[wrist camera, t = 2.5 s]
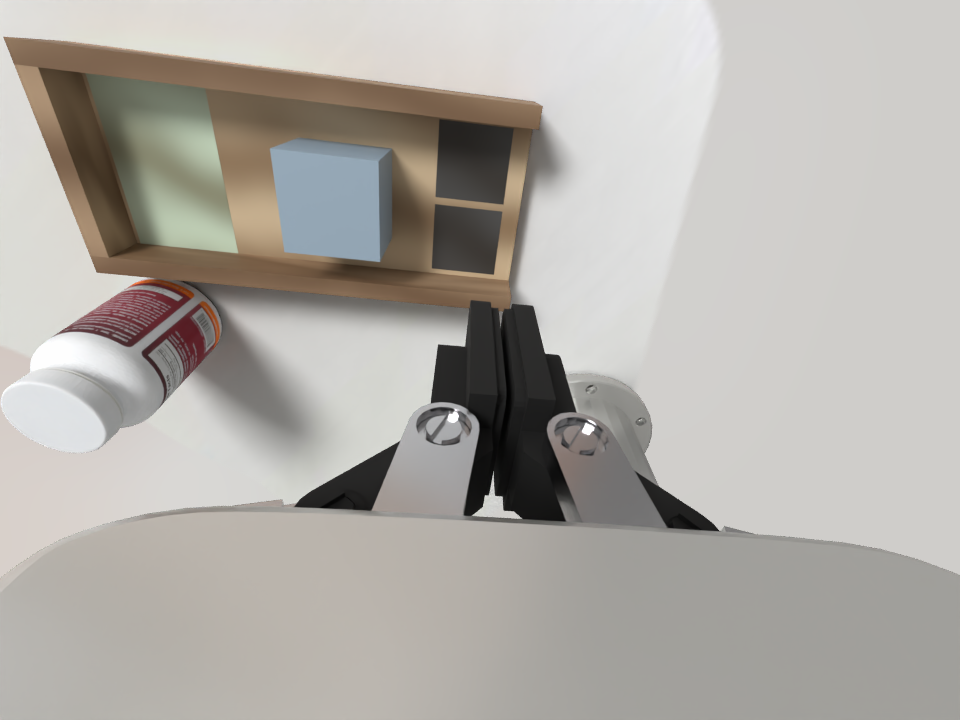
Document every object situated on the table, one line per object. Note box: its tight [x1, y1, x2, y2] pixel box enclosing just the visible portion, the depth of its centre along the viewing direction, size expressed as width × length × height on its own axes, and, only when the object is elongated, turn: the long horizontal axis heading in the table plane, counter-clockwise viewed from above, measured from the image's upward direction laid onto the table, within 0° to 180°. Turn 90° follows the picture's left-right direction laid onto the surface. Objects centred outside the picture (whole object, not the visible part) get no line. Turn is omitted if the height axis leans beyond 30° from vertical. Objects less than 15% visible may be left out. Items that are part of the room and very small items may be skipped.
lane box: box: [4, 37, 543, 312], centre depth 24 cm, size 11×24×4 cm, turn 84°
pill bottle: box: [1, 278, 222, 453], centre depth 26 cm, size 6×6×11 cm
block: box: [270, 137, 392, 262], centre depth 23 cm, size 5×5×4 cm
